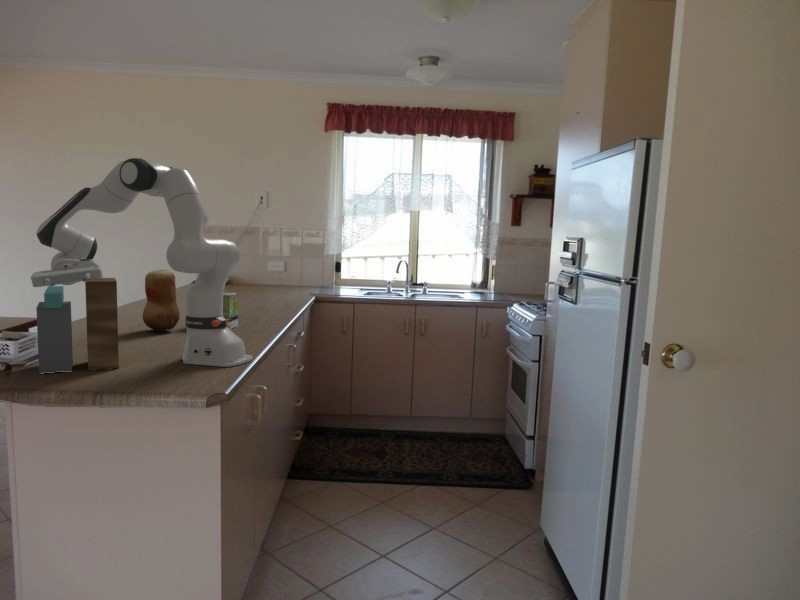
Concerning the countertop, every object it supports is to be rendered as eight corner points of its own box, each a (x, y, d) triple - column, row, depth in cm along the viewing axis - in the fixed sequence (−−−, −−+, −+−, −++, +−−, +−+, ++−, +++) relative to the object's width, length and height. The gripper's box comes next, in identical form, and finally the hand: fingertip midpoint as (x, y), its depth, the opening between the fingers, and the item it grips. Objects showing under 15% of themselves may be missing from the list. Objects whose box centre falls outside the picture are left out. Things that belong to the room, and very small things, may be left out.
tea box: (238, 326, 245) (238, 292, 244) (229, 330, 236) (229, 295, 234) (205, 324, 247) (205, 291, 245) (194, 328, 237) (194, 293, 235)
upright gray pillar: (42, 365, 169) (39, 302, 166) (73, 362, 172) (70, 301, 170) (39, 374, 158) (36, 307, 156) (72, 372, 162) (69, 306, 160)
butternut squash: (135, 332, 223) (134, 269, 220) (159, 327, 236) (158, 267, 233) (164, 335, 219) (163, 271, 216) (187, 330, 232) (186, 269, 229)
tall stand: (88, 361, 174) (85, 278, 171) (116, 359, 178) (114, 277, 175) (88, 370, 164) (85, 281, 161) (118, 368, 168) (116, 281, 165)
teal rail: (48, 299, 173) (48, 286, 172) (63, 299, 174) (63, 286, 174) (44, 308, 155) (44, 293, 155) (61, 307, 157) (61, 293, 157)
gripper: (28, 266, 185) (28, 277, 174) (98, 258, 196) (102, 267, 184) (32, 285, 187) (32, 296, 176) (101, 276, 198) (105, 286, 186)
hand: (68, 281), depth 180 cm, fingers open, 8 cm apart
